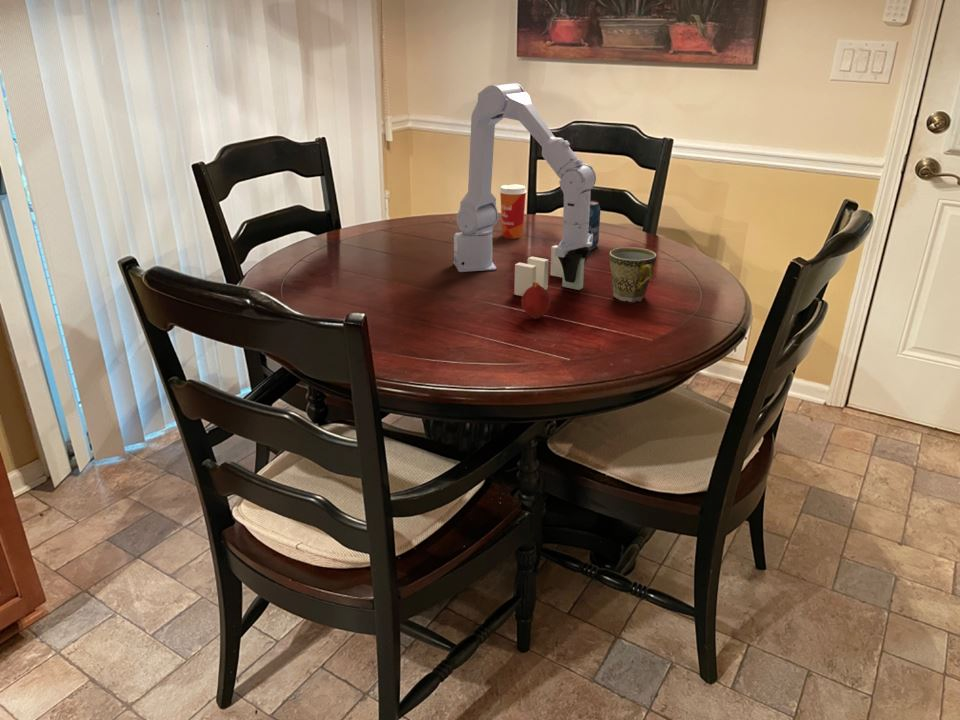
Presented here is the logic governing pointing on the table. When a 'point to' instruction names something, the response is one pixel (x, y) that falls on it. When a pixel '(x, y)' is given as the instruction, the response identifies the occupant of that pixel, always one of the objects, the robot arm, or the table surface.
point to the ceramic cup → (631, 272)
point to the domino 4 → (579, 277)
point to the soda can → (594, 222)
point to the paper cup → (512, 210)
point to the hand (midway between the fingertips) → (572, 279)
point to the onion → (535, 301)
